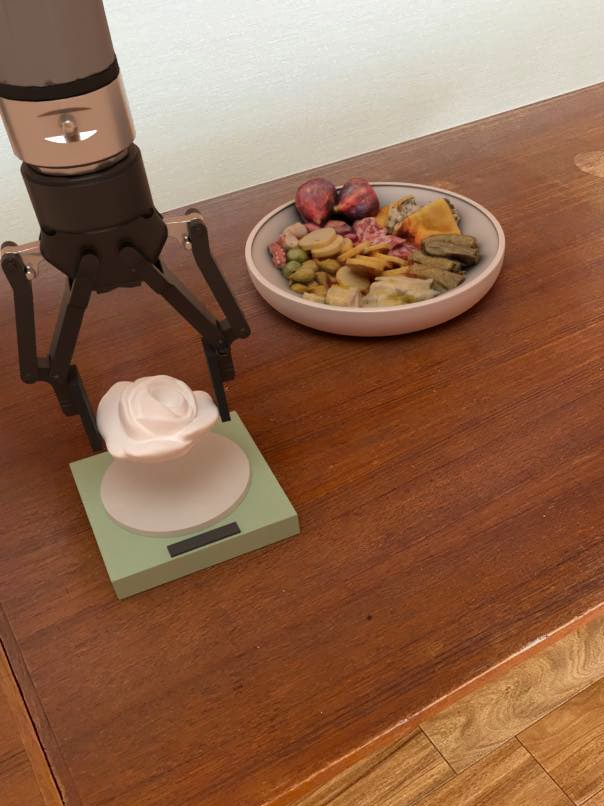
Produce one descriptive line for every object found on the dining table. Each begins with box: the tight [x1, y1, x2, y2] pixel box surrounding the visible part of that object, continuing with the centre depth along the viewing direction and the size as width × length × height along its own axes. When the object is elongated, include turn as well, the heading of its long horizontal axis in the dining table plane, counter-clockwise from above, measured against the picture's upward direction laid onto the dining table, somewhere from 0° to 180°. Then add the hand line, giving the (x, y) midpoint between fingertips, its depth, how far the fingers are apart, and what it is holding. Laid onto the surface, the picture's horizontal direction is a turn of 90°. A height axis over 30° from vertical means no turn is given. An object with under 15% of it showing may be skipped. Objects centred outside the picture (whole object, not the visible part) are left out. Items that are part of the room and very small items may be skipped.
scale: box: [68, 410, 301, 601], centre depth 77 cm, size 16×16×3 cm
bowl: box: [244, 177, 506, 337], centre depth 101 cm, size 30×30×8 cm
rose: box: [95, 374, 220, 463], centre depth 70 cm, size 10×4×10 cm
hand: (161, 426), depth 71 cm, fingers closed on rose, 10 cm apart
